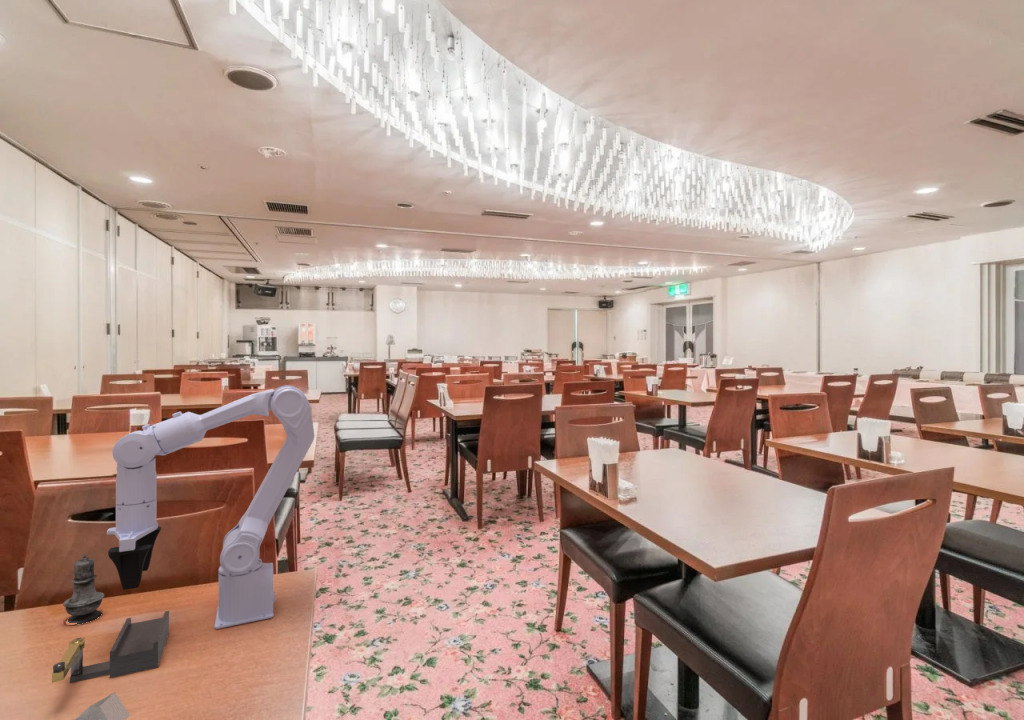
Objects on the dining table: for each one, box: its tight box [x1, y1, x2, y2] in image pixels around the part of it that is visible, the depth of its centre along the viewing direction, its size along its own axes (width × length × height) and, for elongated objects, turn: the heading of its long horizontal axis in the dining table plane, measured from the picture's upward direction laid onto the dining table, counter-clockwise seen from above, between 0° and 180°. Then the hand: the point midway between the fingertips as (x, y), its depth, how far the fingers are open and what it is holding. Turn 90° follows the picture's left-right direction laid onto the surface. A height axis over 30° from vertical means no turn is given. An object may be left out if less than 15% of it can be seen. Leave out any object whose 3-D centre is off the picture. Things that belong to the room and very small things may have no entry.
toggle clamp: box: [69, 610, 170, 684], centre depth 81 cm, size 11×11×4 cm
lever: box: [51, 637, 86, 683], centre depth 72 cm, size 10×2×2 cm, turn 28°
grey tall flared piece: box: [62, 553, 105, 625], centre depth 94 cm, size 6×6×12 cm
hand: (136, 579), depth 87 cm, fingers open, 7 cm apart
